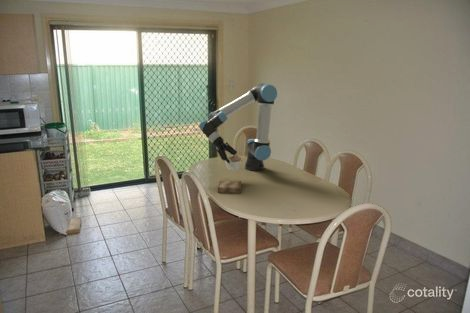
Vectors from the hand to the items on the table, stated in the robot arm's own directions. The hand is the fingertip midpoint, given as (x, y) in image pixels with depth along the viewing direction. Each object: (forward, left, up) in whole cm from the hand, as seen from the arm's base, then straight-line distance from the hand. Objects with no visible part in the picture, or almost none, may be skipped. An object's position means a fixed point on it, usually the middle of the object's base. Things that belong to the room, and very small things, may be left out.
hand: (236, 163), depth 239 cm
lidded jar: (+3, -1, -4) cm, 5 cm away
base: (+4, +16, -12) cm, 20 cm away
